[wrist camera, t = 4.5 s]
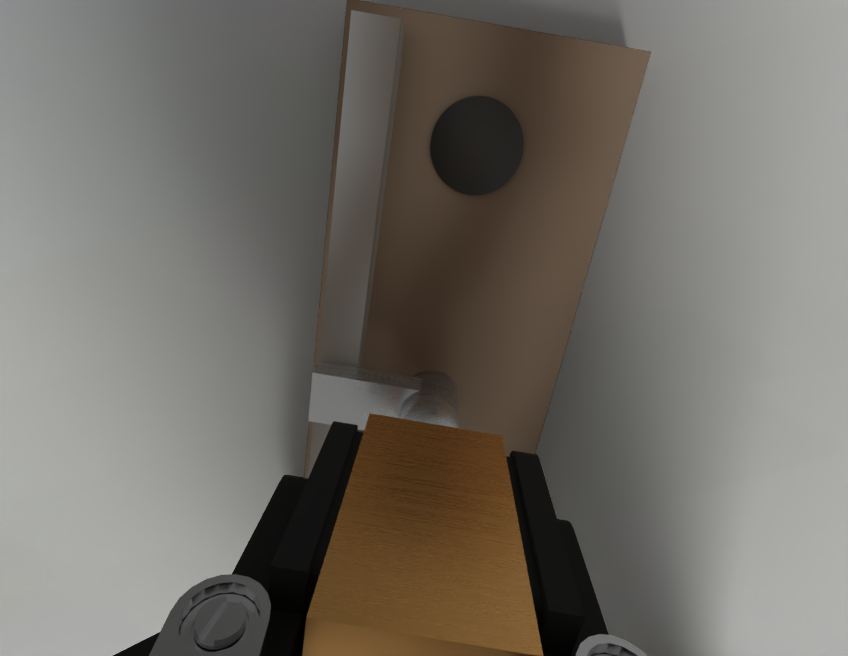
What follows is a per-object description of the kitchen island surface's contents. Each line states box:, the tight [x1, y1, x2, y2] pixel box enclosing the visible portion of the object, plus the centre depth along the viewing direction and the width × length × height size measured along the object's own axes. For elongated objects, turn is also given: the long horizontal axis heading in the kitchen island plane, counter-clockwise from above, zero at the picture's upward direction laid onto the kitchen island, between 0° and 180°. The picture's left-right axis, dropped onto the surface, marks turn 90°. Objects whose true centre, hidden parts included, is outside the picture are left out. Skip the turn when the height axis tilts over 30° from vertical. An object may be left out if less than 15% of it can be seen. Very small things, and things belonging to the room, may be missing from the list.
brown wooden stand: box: [304, 0, 651, 478], centre depth 12 cm, size 8×20×11 cm, turn 171°
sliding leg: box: [302, 361, 543, 656], centre depth 11 cm, size 5×3×10 cm, turn 81°
